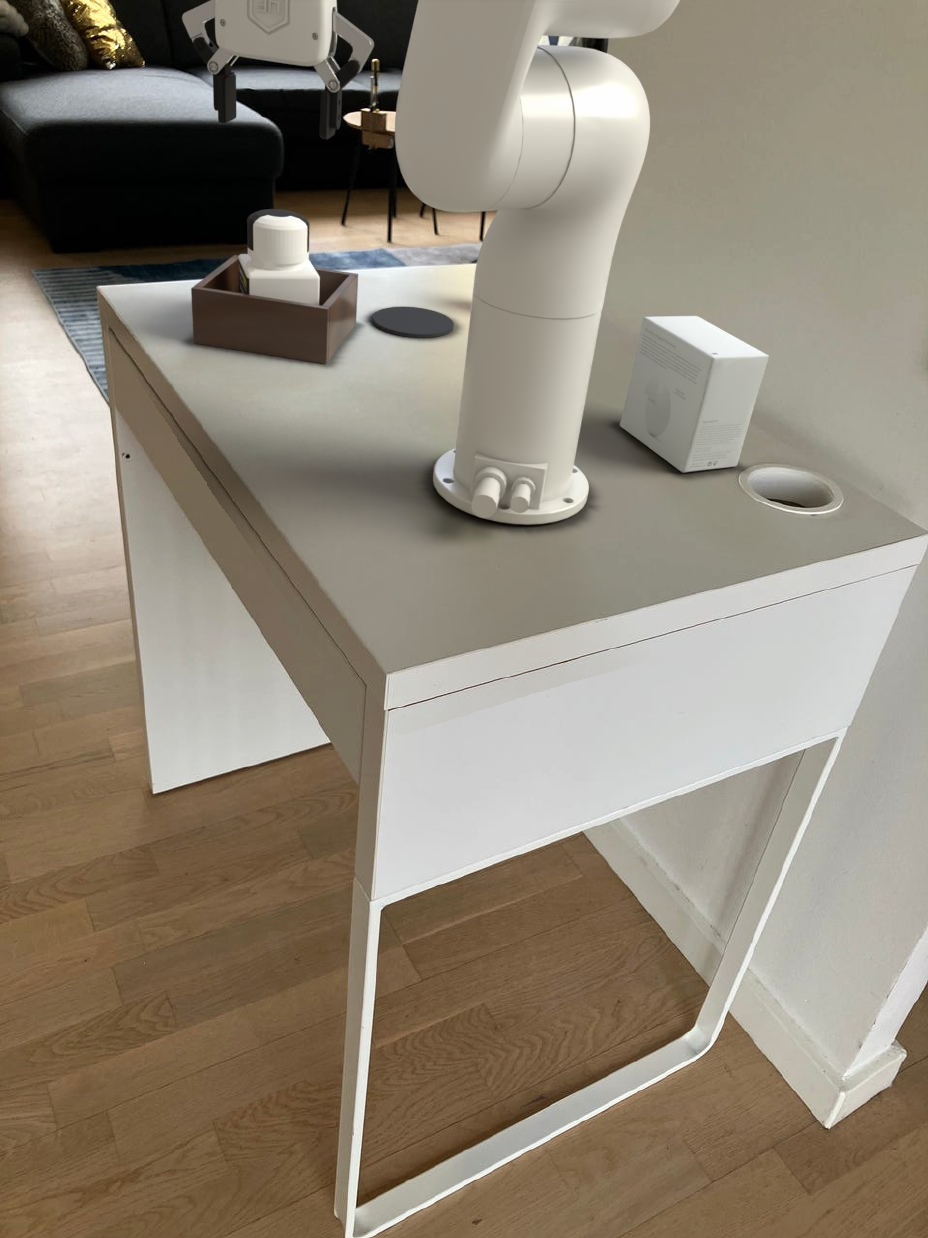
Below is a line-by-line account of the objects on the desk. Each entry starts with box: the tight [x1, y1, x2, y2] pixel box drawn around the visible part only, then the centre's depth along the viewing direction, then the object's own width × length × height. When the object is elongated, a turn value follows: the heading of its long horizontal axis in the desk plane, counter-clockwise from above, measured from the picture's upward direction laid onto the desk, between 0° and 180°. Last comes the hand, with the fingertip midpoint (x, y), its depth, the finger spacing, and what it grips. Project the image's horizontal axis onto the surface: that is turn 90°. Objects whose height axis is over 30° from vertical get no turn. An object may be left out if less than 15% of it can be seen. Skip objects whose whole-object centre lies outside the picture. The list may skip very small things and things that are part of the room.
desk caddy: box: [190, 254, 359, 365], centre depth 106 cm, size 13×14×6 cm
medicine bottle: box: [238, 208, 320, 305], centre depth 104 cm, size 7×7×12 cm
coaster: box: [372, 306, 455, 339], centre depth 114 cm, size 9×9×1 cm
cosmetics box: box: [619, 315, 770, 474], centre depth 91 cm, size 10×6×10 cm, turn 25°
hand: (277, 128), depth 96 cm, fingers open, 9 cm apart
